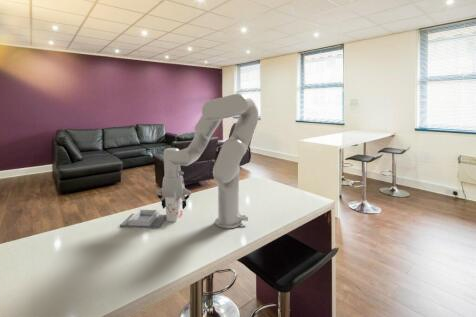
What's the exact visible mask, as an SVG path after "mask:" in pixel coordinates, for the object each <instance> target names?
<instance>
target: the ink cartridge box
mask: <svg viewBox="0 0 476 317" xmlns="http://www.w3.org/2000/svg"><path fill="white" fill-rule="evenodd" d="M165 201H166V207H165V213H166V214H165V215H166V216H167V218H166V221H167V222H172V223H173V222H174V223H176V222H178V220H179V219H180V218H181V217H182V216H183V209H182V201H183V200H182V199H181V198H177V196H176V191H175V192H174V197H165Z"/></svg>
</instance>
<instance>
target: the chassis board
mask: <svg viewBox="0 0 476 317" xmlns="http://www.w3.org/2000/svg"><path fill="white" fill-rule="evenodd" d="M165 220H167V216H166V214H160V209H142V208H140V209H139V210H137V211H136V212H135V213H131V214H130V215H129V216H128V217H127V218H126V219H125V220H123V221H122V223H120V224H119V228H142V229H160V228H161V226H162V225H163V224H164V222H165Z"/></svg>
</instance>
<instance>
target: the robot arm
mask: <svg viewBox="0 0 476 317" xmlns="http://www.w3.org/2000/svg"><path fill="white" fill-rule="evenodd" d="M201 113H202V114H201V117H200V118H199V119H198V121H197V123H196V124H195V126H194V133H195V134H194V137H193V139H192V140H191V142H190V144H189V145H188V147H185V148H183V149H179V148H178V147H177V148H176V147H168V148H165V149H163V167H164V168H163V169H164V171H163V172H164V176H163V178H162V186H161V188H160V189H159V188H158V189H157V190H156V191H155V194H156V196H157V198H158V199H159V200H160V201H161V207H162V209H166V201H165V198H166V197H174V192H175V191H176V196H177V198H181V199H182V210H185V208H186V207H187V200H188V199H189V198H190V196H191V194H192V191H191V190H190V189H187V188H186V187H185V182H184V181H185V180H184V176H183V175H184V174H185V173H184V171H182V169H181V166H183V167H184V166H185V167H187V166H190V165H191V164H193V163H194V162H197V161H198V160H199V159H200V158H201V155H202V154H203V152H204V151H205V149H206V148H207V146H208V144H209V142H210V140H211V137H212V136H213V134H214V133H215V131H216V130H217V128H218V127H219V126H220V125H221V123H222V121H223V120H224V119H227V118H231V117H236V116H238V119H237V121H236V124H235V126H234V129H233V131H232V134H231V135H230V137H229V138H227V139H226V140H225V141H224V142H223V144H222V146H221V148H220V150H219V153H218V155H217V158H216V160H215V163H214V165H213V168H212V177H213V178H214V180H215V181H217V183H218V184H217V186H218V188H217V189H218V190H217V192H218V193H217V198H218V200H217V201H218V203H217V204H218V206H217V207H218V208H217V209H218V212H217V213H218V216H217V218H216V219H215V220H214V224H215V226H217V227H218V228H221V229H235V228H238V227H240V226H241V225H242V223H243V221H244V222H249V216H246V214H240V211H239V205H240V203H239V200H240V199H239V198H240V197H239V195H240V193H239V192H240V189H239V188H240V174H241V172H240V171H241V168H240V167H241V166H240V163H241V161H242V159H243V157H244V156H245V154H246V153H247V151H248V148H249V145H250V142H251V141H252V138H253V135H254V133H255V130H256V127H257V124H258V121H259V110H258V107H257V103H256V102H255V101H254V100H253V98H251V97H250V96H249V95H247V94H243V93H234V94H229V95H226V96H223V97H218V98H215V99H210V100H207V101H206V102H204V103H203V105H202V108H201ZM161 192H162V194H161ZM185 193H186V194H187V195H185Z"/></svg>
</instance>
